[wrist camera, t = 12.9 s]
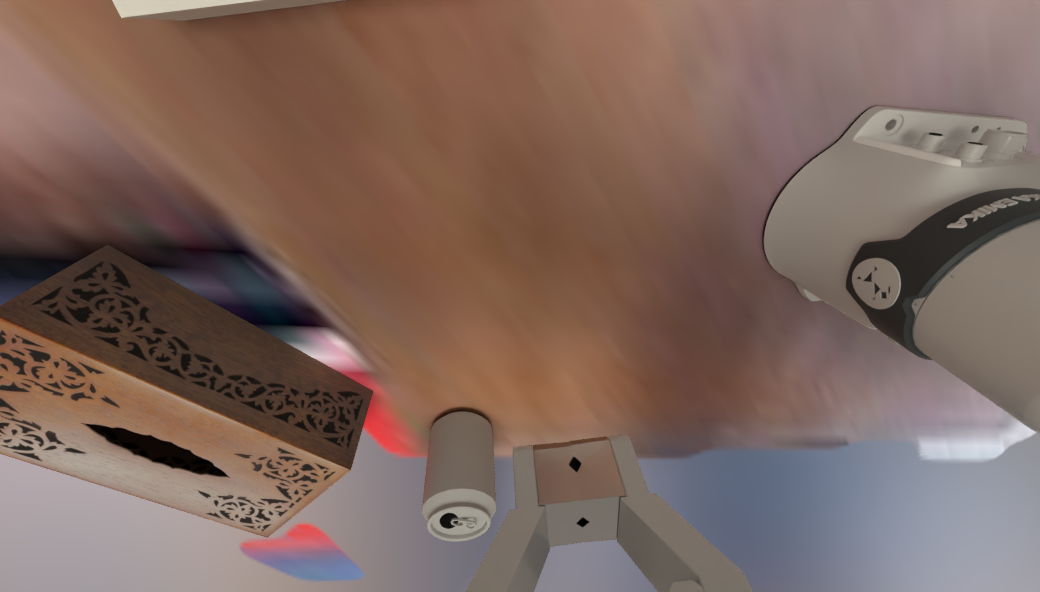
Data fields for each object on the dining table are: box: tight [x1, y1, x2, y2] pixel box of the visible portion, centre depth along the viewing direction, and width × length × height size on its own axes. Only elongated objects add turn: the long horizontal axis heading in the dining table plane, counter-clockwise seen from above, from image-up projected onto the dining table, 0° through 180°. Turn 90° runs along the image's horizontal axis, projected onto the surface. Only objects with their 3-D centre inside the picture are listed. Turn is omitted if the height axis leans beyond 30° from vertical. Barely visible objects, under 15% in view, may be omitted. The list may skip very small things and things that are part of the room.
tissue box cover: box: [0, 245, 373, 537], centre depth 37 cm, size 26×14×10 cm, turn 43°
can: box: [422, 411, 496, 541], centre depth 44 cm, size 8×8×12 cm
